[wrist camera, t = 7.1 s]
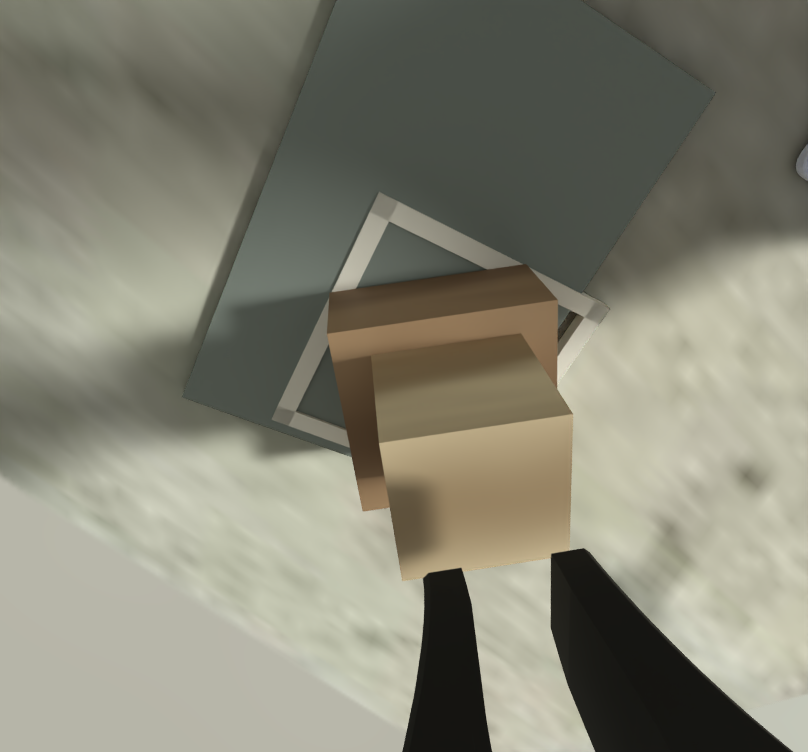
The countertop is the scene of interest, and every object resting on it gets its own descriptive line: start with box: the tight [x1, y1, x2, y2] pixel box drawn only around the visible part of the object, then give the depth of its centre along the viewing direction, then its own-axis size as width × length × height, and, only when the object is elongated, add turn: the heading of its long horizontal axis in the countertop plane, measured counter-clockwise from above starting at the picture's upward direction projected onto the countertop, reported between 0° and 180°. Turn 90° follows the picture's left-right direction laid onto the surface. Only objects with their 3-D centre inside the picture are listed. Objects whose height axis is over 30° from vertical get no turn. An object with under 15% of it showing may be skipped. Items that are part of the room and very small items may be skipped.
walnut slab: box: [327, 264, 558, 511], centre depth 18 cm, size 6×6×3 cm
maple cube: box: [371, 333, 573, 581], centre depth 15 cm, size 4×4×4 cm
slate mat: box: [182, 0, 716, 457], centre depth 18 cm, size 15×11×1 cm
